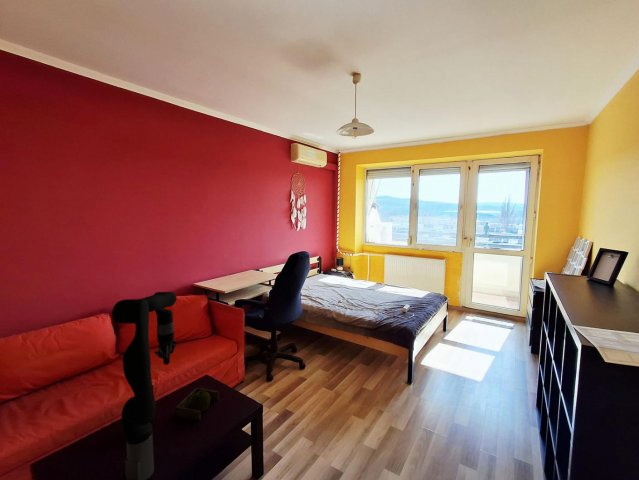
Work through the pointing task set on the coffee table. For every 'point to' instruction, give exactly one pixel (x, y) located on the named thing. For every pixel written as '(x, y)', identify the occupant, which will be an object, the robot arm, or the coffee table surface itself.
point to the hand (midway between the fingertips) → (166, 363)
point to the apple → (200, 401)
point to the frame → (181, 407)
